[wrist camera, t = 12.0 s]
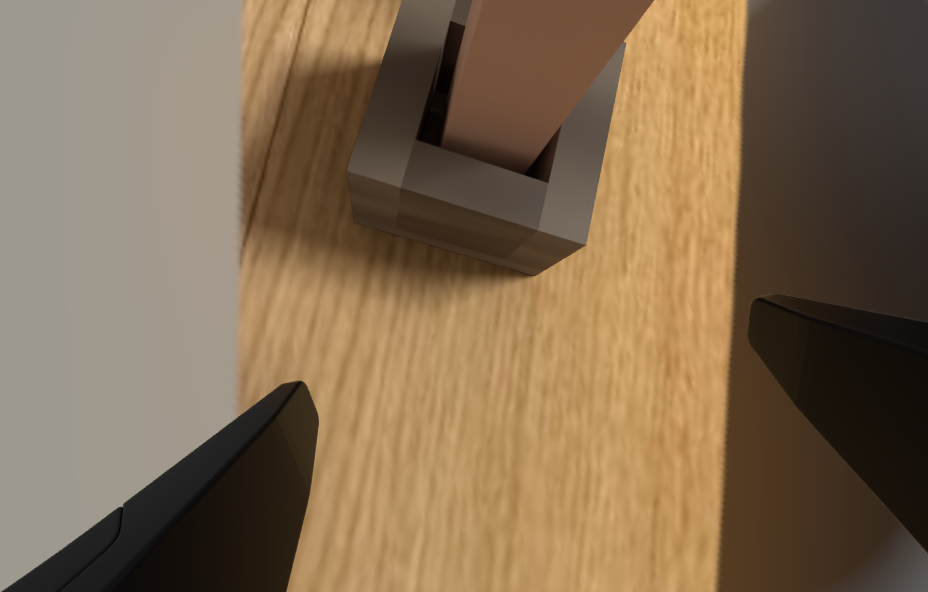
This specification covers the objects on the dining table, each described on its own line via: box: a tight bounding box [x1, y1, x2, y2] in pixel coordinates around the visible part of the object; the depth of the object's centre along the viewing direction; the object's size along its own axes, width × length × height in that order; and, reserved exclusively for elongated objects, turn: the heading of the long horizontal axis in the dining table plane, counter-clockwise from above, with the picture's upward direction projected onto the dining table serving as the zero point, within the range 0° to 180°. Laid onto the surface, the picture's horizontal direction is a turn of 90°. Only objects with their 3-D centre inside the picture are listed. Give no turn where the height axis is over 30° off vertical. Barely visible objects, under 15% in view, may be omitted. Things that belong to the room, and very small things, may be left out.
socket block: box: [347, 0, 626, 276], centre depth 18 cm, size 8×8×5 cm
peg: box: [437, 0, 654, 175], centre depth 14 cm, size 3×3×11 cm
